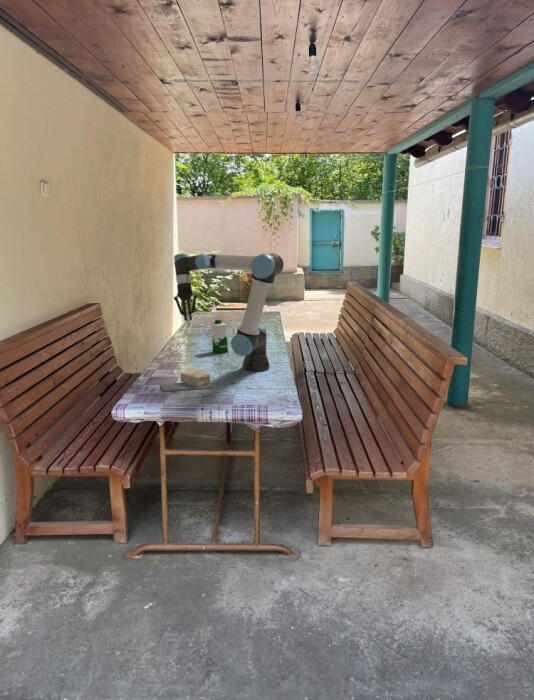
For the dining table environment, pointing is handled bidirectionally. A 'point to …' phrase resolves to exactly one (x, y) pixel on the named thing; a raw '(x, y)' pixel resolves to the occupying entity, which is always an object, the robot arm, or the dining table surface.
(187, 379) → the supplement box
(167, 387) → the rubber mat
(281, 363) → the dining table surface
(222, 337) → the milk carton
